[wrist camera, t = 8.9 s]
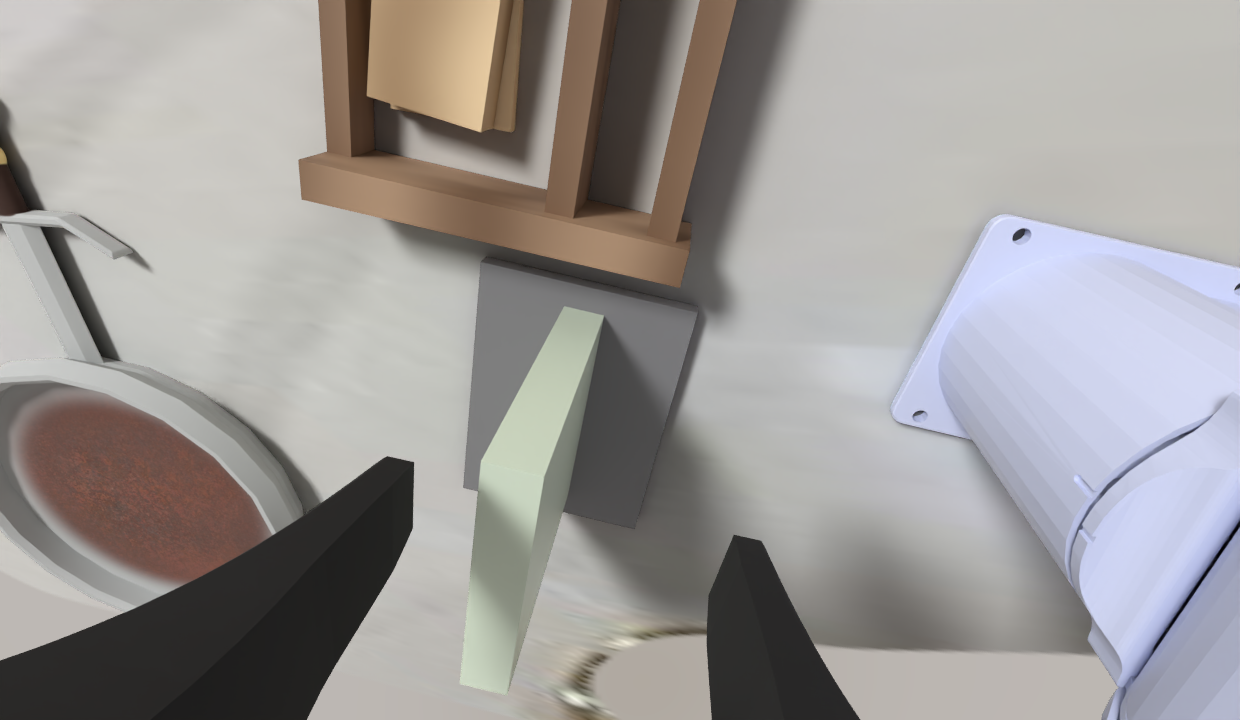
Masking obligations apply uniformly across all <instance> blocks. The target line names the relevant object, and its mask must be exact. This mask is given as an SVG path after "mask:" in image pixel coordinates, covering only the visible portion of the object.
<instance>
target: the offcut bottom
mask: <svg viewBox="0 0 1240 720" xmlns="http://www.w3.org/2000/svg"><path fill="white" fill-rule="evenodd" d="M523 6H524V0H514V1H513V8H512V14H511V20H510V27H509V33H508V39H507V46H506V52H505V59H504V65H503V71H502V78H501V84H500V90H499V97H498V103H497V110H496V116H495V122H494V128H492V129H496V130H501V131H506V132H513V131H515V119H516V105H517V91H518V77H519V63H520V49H521V34H522V20H523ZM390 106H391V108H392V109H397V110H401V111H406V112H411V113H416V114H421V113H418V112H415V111H412V110H409V109H406V108H403V107H400V106H396V105H393V104H390ZM421 115H425V114H421ZM426 116H428V115H426Z"/></svg>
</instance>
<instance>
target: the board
mask: <svg viewBox="0 0 1240 720" xmlns="http://www.w3.org/2000/svg"><path fill="white" fill-rule="evenodd" d="M603 318H604V315H599V314H595V313H591V312H587V311H582V310H578V309H574V308H570V307H566V306H564V308H563V310H562V311H561V313H560V315H559V317H558V319H557V321H556V323H555V324H554V326H553V328H552V330H551V332H550V334H549V336H548V337H547V339H546V341H545V343H544V345H543V347H542V349H541V350H540V352H539V354H538V356H537V358H536V360H535V362H534V363H533V365H532V367H531V369H530V371H529V373H528V375H527V377H526V378H525V380H524V382H523V384H522V386H521V388H520V390H519V391H518V393H517V395H516V397H515V399H514V401H513V403H512V404H511V406H510V408H509V410H508V412H507V414H506V416H505V417H504V419H503V421H502V423H501V425H500V427H499V429H498V430H497V432H496V434H495V436H494V438H493V440H492V442H491V443H490V445H489V447H488V449H487V451H486V453H485V455H484V457H483V458H482V460H481V465H480V476H479V486H478V497H477V508H476V518H475V529H474V539H473V550H472V560H471V571H470V581H469V592H468V602H467V613H466V623H465V634H464V644H463V655H462V666H461V676H460V684H462V685H466V686H470V687H474V688H478V689H482V690H486V691H491V692H495V693H499V694H503V695H507V694H508V691H509V688H510V684H511V681H512V678H513V674H514V671H515V668H516V665H517V661H518V658H519V655H520V651H521V648H522V645H523V641H524V638H525V635H526V632H527V628H528V625H529V622H530V618H531V615H532V612H533V608H534V605H535V602H536V599H537V595H538V592H539V589H540V585H541V582H542V579H543V575H544V572H545V569H546V566H547V562H548V559H549V556H550V552H551V549H552V546H553V543H554V539H555V536H556V533H557V529H558V526H559V523H560V519H561V516H562V513H563V510H564V506H565V503H566V500H567V496H568V492H569V487H570V482H571V477H572V472H573V467H574V462H575V457H576V452H577V447H578V442H579V437H580V432H581V428H582V423H583V418H584V413H585V408H586V403H587V398H588V393H589V388H590V383H591V378H592V373H593V368H594V363H595V358H596V353H597V348H598V343H599V338H600V333H601V328H602V323H603Z"/></svg>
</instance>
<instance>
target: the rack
mask: <svg viewBox="0 0 1240 720" xmlns="http://www.w3.org/2000/svg"><path fill="white" fill-rule="evenodd" d="M620 2H621V0H572V4H571V11H570V19H569V27H568V34H567V42H566V50H565V57H564V65H563V73H562V80H561V88H560V96H559V103H558V111H557V119H556V126H555V134H554V142H553V149H552V157H551V165H550V173H549V180H548V188H547V190H545V189H541V188H536V187H532V186H528V185H523V184H519V183H515V182H510V181H506V180H502V179H497V178H493V177H489V176H485V175H480V174H476V173H472V172H467V171H463V170H459V169H454V168H450V167H446V166H442V165H437V164H433V163H429V162H424V161H420V160H416V159H411V158H407V157H403V156H399V155H394V154H390V153H386V152H381V151H377V150H375V144H374V98H371V97H368V96H367V80H368V60H369V40H370V20H371V0H318V4H319V21H320V38H321V55H322V72H323V89H324V105H325V122H326V139H327V152H324V153H321V154H317V155H314V156H310V157H307V158H303V159H299V172H300V184H301V196H302V200H307V201H311V202H315V203H319V204H324V205H328V206H332V207H336V208H341V209H345V210H349V211H354V212H358V213H362V214H366V215H371V216H375V217H379V218H383V219H388V220H392V221H396V222H400V223H405V224H409V225H413V226H418V227H422V228H426V229H430V230H435V231H439V232H443V233H447V234H452V235H456V236H460V237H464V238H469V239H473V240H477V241H482V242H486V243H490V244H494V245H499V246H503V247H507V248H511V249H516V250H520V251H524V252H528V253H533V254H537V255H541V256H545V257H550V258H554V259H558V260H563V261H567V262H571V263H575V264H580V265H584V266H588V267H592V268H597V269H601V270H605V271H609V272H614V273H618V274H622V275H627V276H631V277H635V278H639V279H644V280H648V281H652V282H656V283H661V284H665V285H669V286H673V287H678V288H680V285H681V282H682V278H683V274H684V270H685V267H686V263H687V259H688V255H689V252H690V239H691V225H692V224H691V223H687V222H682V221H681V219H682V215H683V211H684V207H685V203H686V199H687V195H688V192H689V188H690V184H691V180H692V176H693V172H694V168H695V164H696V160H697V156H698V152H699V148H700V144H701V140H702V136H703V132H704V128H705V124H706V121H707V117H708V113H709V109H710V105H711V101H712V97H713V93H714V89H715V85H716V81H717V77H718V73H719V69H720V65H721V61H722V57H723V53H724V50H725V46H726V42H727V38H728V34H729V30H730V26H731V22H732V18H733V14H734V10H735V6H736V2H737V0H700V2H699V6H698V11H697V15H696V20H695V24H694V28H693V33H692V37H691V42H690V46H689V51H688V55H687V59H686V64H685V68H684V73H683V77H682V82H681V86H680V90H679V95H678V99H677V104H676V108H675V113H674V117H673V121H672V126H671V130H670V135H669V139H668V144H667V148H666V152H665V157H664V161H663V166H662V170H661V175H660V179H659V183H658V188H657V192H656V197H655V201H654V206H653V210H652V214H648V213H644V212H639V211H635V210H631V209H627V208H622V207H618V206H614V205H609V204H605V203H601V202H596V201H592V200H588V194H589V188H590V182H591V176H592V170H593V164H594V158H595V152H596V146H597V140H598V134H599V128H600V122H601V116H602V110H603V104H604V98H605V92H606V86H607V80H608V74H609V68H610V62H611V56H612V50H613V44H614V38H615V32H616V26H617V20H618V14H619V8H620Z"/></svg>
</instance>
